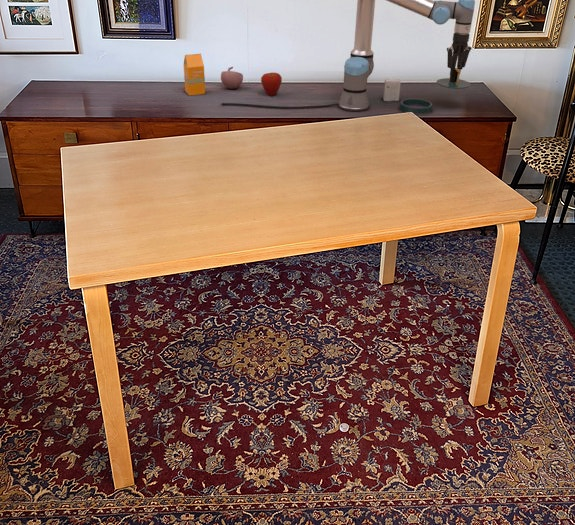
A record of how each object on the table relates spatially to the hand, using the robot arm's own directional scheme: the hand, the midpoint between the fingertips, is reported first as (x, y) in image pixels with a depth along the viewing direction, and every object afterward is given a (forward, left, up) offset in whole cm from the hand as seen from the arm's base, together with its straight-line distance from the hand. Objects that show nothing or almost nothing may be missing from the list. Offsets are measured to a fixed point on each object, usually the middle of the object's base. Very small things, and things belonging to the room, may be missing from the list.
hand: (453, 82), depth 316 cm
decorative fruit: (-93, +70, -14) cm, 117 cm away
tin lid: (0, 0, -1) cm, 1 cm away
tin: (-17, +5, -13) cm, 22 cm away
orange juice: (-114, +69, -14) cm, 134 cm away
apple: (-77, +52, -14) cm, 94 cm away
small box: (-21, +23, -14) cm, 34 cm away
